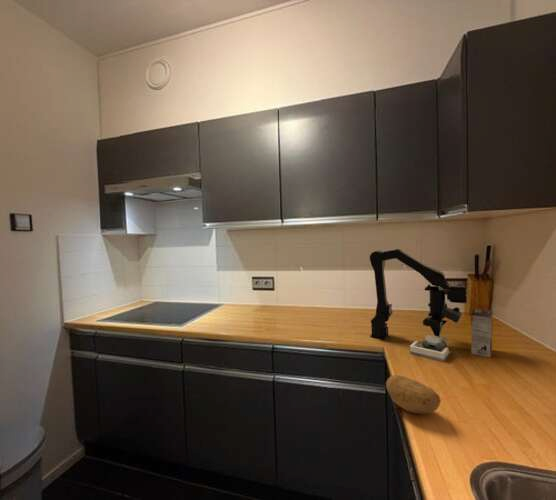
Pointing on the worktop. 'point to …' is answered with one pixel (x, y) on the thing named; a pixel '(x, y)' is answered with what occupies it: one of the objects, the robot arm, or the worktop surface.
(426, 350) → the dock
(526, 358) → the worktop surface
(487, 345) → the coffee box
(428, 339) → the trolley
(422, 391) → the potato
